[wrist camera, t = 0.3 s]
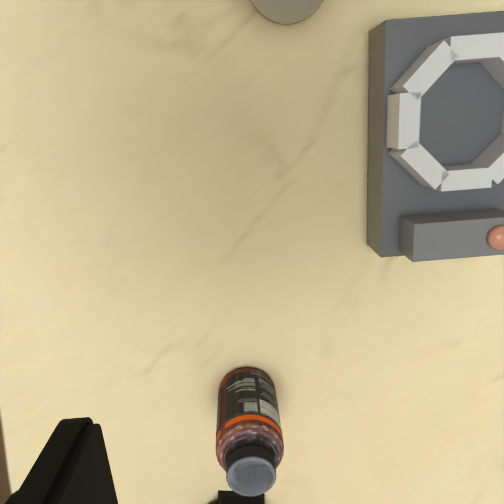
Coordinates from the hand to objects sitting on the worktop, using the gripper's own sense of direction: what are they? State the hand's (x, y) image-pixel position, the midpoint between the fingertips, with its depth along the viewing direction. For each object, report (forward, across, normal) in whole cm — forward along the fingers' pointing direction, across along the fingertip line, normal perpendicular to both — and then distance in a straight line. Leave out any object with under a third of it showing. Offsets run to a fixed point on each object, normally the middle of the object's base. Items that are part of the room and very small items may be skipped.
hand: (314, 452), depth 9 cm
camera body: (+30, -16, -4) cm, 34 cm away
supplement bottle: (+30, +2, +20) cm, 36 cm away
